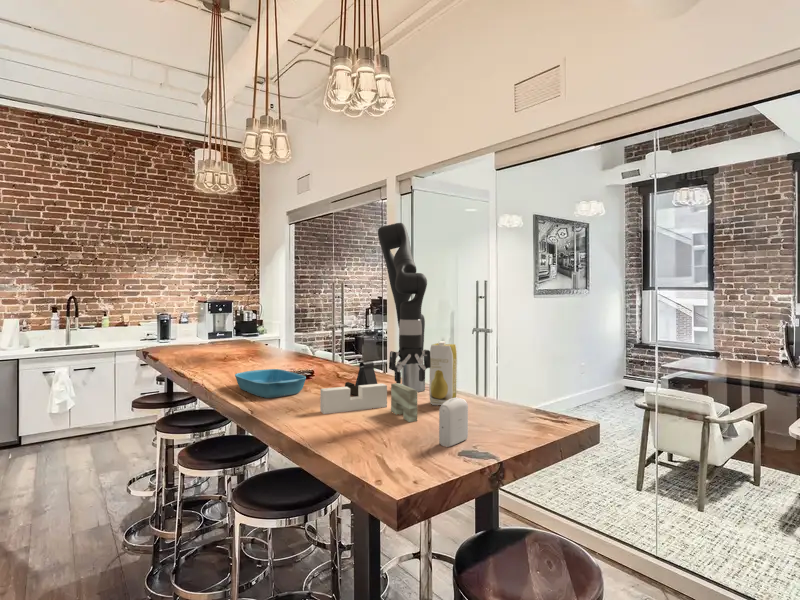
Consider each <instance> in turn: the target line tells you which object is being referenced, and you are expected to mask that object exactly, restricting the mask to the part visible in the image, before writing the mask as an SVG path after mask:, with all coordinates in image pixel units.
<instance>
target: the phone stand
mask: <svg viewBox="0 0 800 600" xmlns="http://www.w3.org/2000/svg"><path fill="white" fill-rule="evenodd" d="M374 366H375V362H374V361H373V360H366V361H360V362H359V365H358V367H359V368H358V374H357V377H356V380H355V383H354V384H355V386H356V387H358V386H359V385H370V384H378V380H377V376H376V372H375V367H374Z"/></svg>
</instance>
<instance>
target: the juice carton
mask: <svg viewBox="0 0 800 600" xmlns="http://www.w3.org/2000/svg"><path fill="white" fill-rule="evenodd" d="M429 349H430V350H429V351H430V363H431V367H430V368H429V387H428V388H429V403H430V405H431V404H432V405H431V406H438V405H442V404H443V403H444V402H446V401H447V400H449V399H452V398H457V388H458V387H457V382H458V381H457V380H458V379H457V375H458V374H457V373H458V372H457V370H458V369H457V368H458V363H457V362H458V358H457V357H458V355H457V354H458V353H457V352H458V351H457V346H456V344H455V343H449V344H446V341H445V340H441V341H438V343H433V344H431V345H430V348H429Z"/></svg>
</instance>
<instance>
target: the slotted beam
mask: <svg viewBox="0 0 800 600" xmlns="http://www.w3.org/2000/svg"><path fill="white" fill-rule="evenodd" d="M319 394H320V396H319V398H320V399H319V400H320V401H319V402H320V406H319V407H320V412H321V413H322V415H327V414H337V413H345V412H355V411H365V410H371V409H372V408H373V409H379V408H380V409H381V407H382V408H387V407H388V385H387V384H385V383H383V382H382V383H377V384H370V385H359V386H358V396H351V394H350V388H348V387H345V386H340V387H339V386H338V387H327V388H320V393H319Z"/></svg>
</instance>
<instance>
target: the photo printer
mask: <svg viewBox="0 0 800 600" xmlns="http://www.w3.org/2000/svg"><path fill="white" fill-rule="evenodd" d="M438 411H439V413H438V415H439V418H438V419H439V420H438V423H439V424H438V425H439V426H438V428H439V429H438V430H439V431H438V437H439V438H438V442H439V444H440V445H441V446H442V447H445V446H446V448H448V447H452V446H455V445H457V444H459V443H461V442H463V441H465V440H467V439H468V437H469V436H468V435H469V405H468V402H467V401H466V399H464V398H460V397H456V398H452V399H449V400H447V401H446V402H444V403H443V404H442V405H441V406H439V410H438Z"/></svg>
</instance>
